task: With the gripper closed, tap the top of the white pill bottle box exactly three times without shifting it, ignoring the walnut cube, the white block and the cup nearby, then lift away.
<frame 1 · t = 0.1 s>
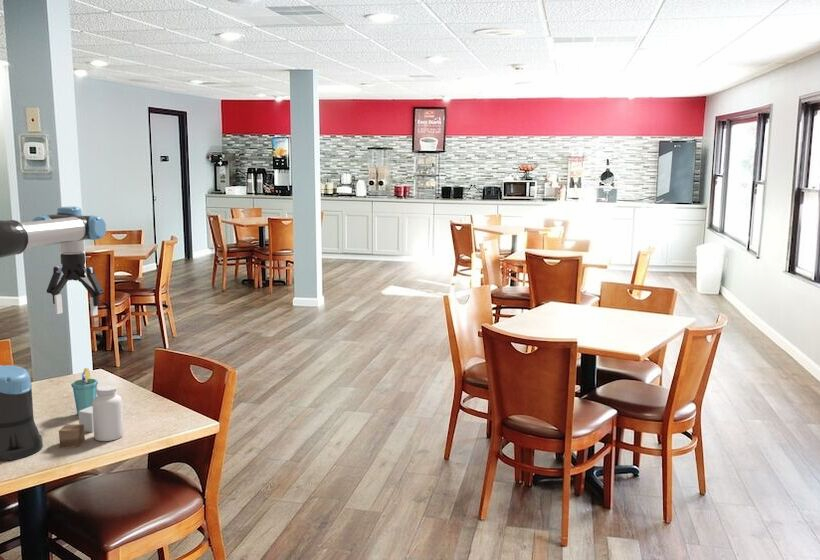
hand: (76, 314, 250), 28 cm above the table, fingers open, 13 cm apart
cup: (86, 415, 233), on the table
walnut cube: (72, 444, 209), on the table
pill bottle: (109, 437, 215), on the table
white block: (92, 428, 221), on the table
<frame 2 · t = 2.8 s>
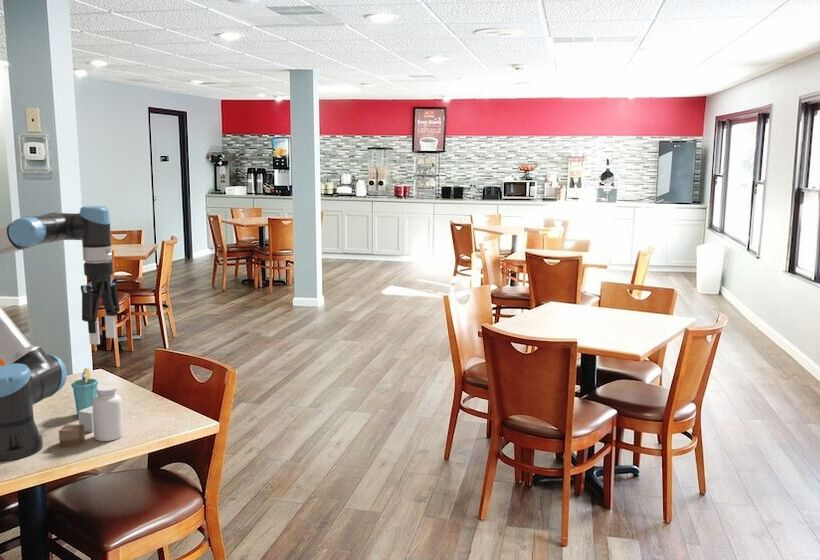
hand: (103, 340, 210), 29 cm above the table, fingers open, 7 cm apart
nothing on the table moved.
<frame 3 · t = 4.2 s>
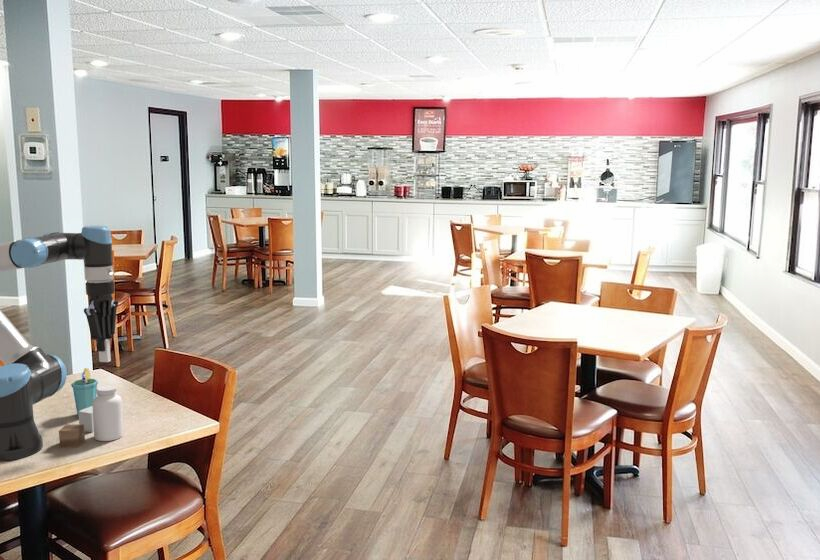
hand: (105, 361, 211), 23 cm above the table, fingers closed
nothing on the table moved.
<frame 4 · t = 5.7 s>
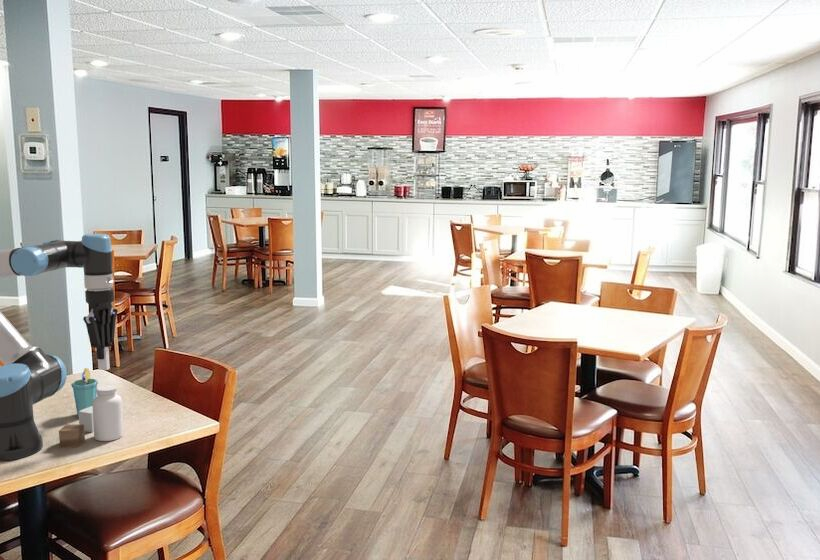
hand: (104, 369, 212), 21 cm above the table, fingers closed
nothing on the table moved.
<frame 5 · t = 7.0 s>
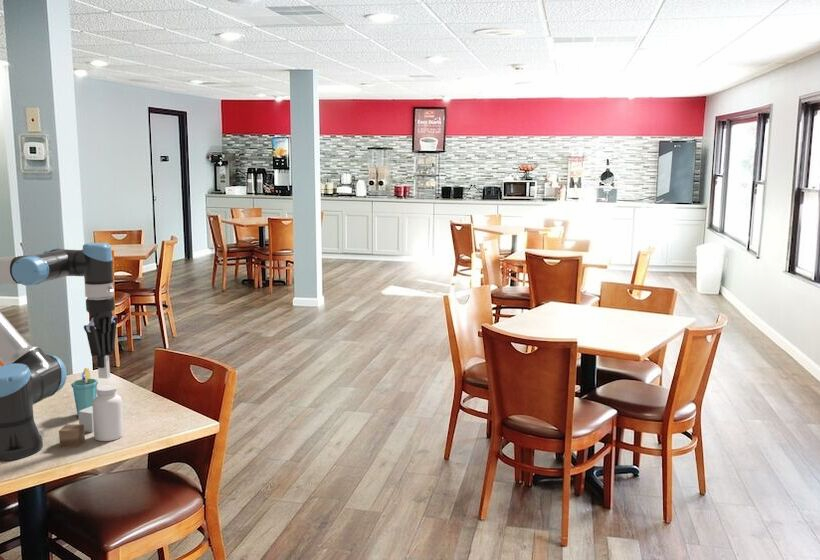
hand: (104, 377, 212), 18 cm above the table, fingers closed
nothing on the table moved.
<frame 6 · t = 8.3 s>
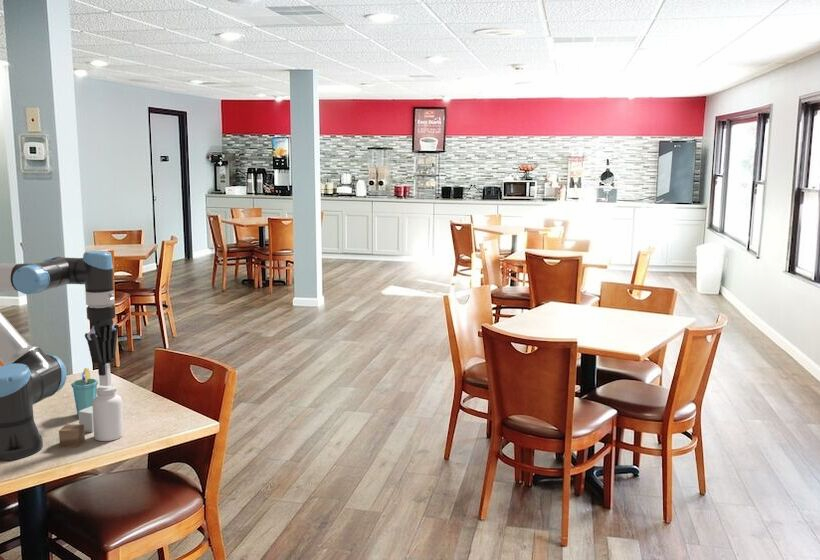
hand: (105, 385, 212), 16 cm above the table, fingers closed
nothing on the table moved.
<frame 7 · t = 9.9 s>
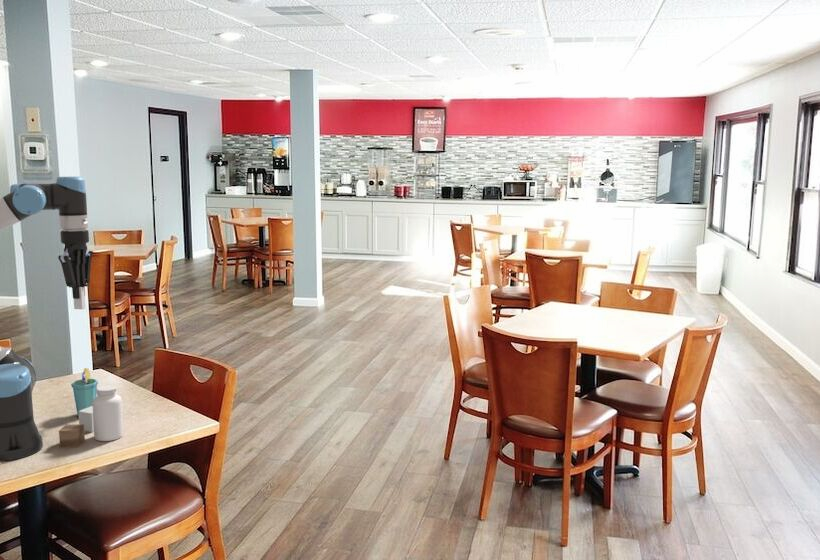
hand: (79, 308, 218), 36 cm above the table, fingers closed
nothing on the table moved.
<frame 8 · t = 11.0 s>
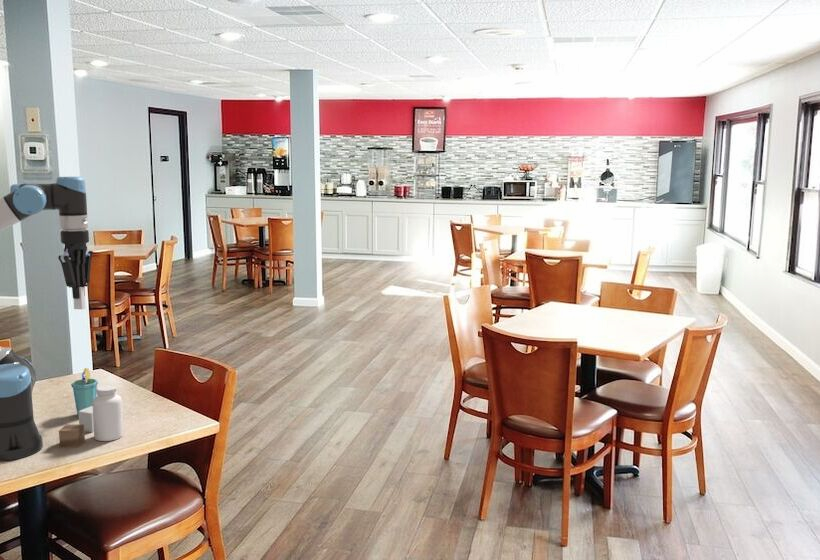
hand: (79, 308, 218), 36 cm above the table, fingers closed
nothing on the table moved.
at the end: pill bottle moved 0.2 cm from its start; pill bottle tilted 0°; the gripper is holding nothing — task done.
